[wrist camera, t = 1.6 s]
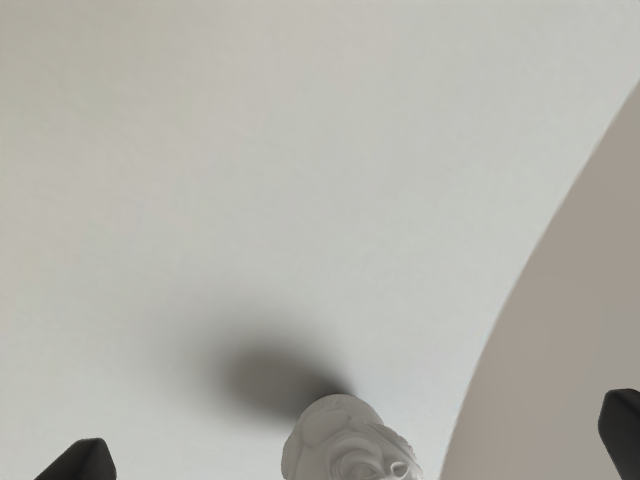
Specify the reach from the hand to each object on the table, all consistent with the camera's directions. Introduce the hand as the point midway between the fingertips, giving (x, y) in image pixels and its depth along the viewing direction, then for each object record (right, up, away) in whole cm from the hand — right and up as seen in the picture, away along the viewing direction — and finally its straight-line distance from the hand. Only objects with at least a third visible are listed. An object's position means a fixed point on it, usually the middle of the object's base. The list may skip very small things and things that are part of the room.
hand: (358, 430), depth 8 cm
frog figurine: (+1, -6, +17) cm, 18 cm away
